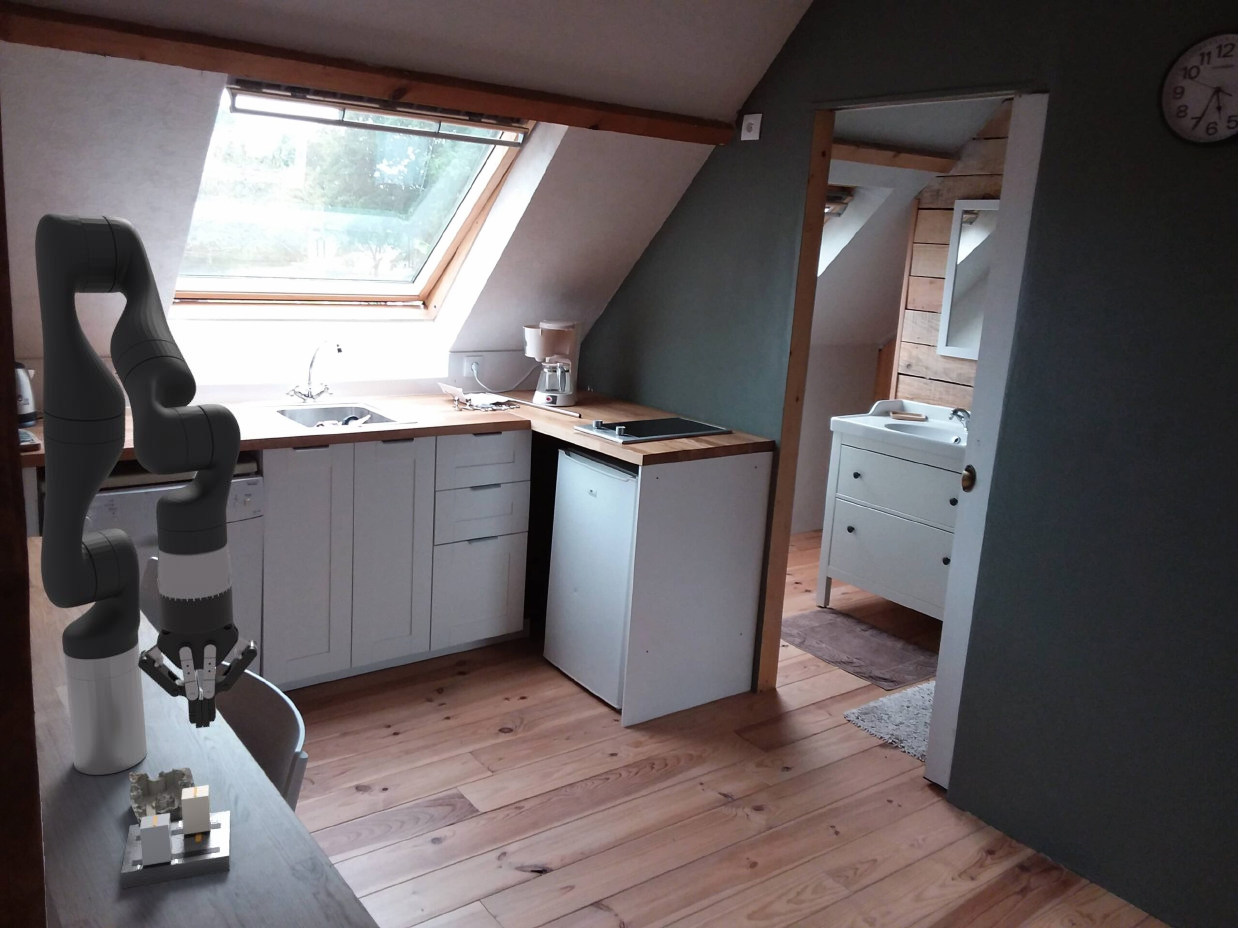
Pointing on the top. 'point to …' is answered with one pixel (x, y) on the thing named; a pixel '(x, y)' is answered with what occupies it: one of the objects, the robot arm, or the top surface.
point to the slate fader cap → (156, 839)
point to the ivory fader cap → (196, 809)
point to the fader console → (180, 853)
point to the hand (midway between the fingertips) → (202, 724)
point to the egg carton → (159, 793)
